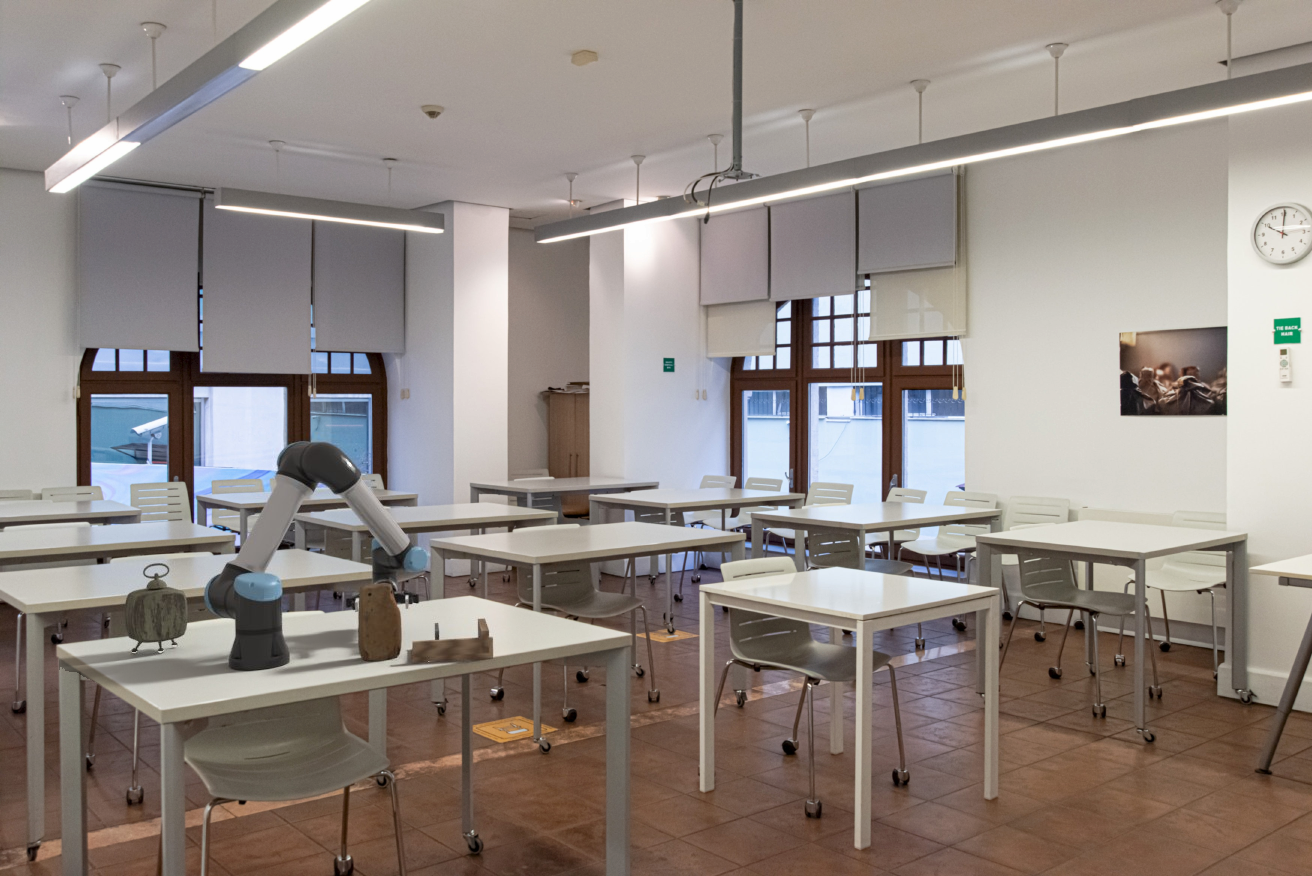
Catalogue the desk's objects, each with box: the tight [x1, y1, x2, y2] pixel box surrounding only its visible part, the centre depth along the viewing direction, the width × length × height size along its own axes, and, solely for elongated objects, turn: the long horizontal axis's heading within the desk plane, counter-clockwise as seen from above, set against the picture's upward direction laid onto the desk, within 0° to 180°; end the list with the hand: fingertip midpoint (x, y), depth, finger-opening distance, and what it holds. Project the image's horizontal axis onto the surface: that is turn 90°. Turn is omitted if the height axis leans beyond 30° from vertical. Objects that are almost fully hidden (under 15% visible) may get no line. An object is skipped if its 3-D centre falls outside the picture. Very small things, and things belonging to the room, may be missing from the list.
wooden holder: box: [411, 618, 494, 664], centre depth 281 cm, size 21×18×8 cm
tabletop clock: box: [123, 562, 189, 653], centre depth 287 cm, size 14×9×25 cm, turn 134°
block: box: [357, 583, 403, 662], centre depth 277 cm, size 11×8×20 cm
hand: (381, 605), depth 286 cm, fingers open, 13 cm apart
